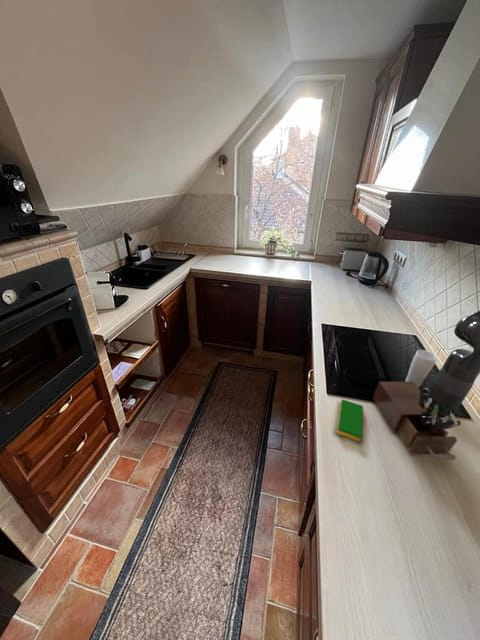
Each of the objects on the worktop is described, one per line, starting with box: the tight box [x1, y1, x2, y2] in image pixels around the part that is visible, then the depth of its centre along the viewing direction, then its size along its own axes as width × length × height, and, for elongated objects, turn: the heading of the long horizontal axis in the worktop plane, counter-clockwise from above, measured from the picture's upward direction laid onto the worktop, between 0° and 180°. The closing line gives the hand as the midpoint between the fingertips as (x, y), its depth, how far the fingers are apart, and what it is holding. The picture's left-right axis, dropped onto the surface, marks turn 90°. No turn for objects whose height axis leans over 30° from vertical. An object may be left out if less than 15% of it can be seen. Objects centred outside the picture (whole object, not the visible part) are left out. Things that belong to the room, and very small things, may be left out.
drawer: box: [397, 416, 458, 461], centre depth 79 cm, size 18×11×7 cm, turn 1°
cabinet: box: [372, 381, 434, 433], centre depth 88 cm, size 15×13×9 cm
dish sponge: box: [336, 399, 364, 442], centre depth 87 cm, size 7×14×2 cm, turn 156°
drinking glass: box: [404, 349, 438, 389], centre depth 100 cm, size 7×7×15 cm
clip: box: [415, 416, 438, 431], centre depth 77 cm, size 5×3×3 cm, turn 91°
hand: (426, 426), depth 78 cm, fingers closed on clip, 3 cm apart
